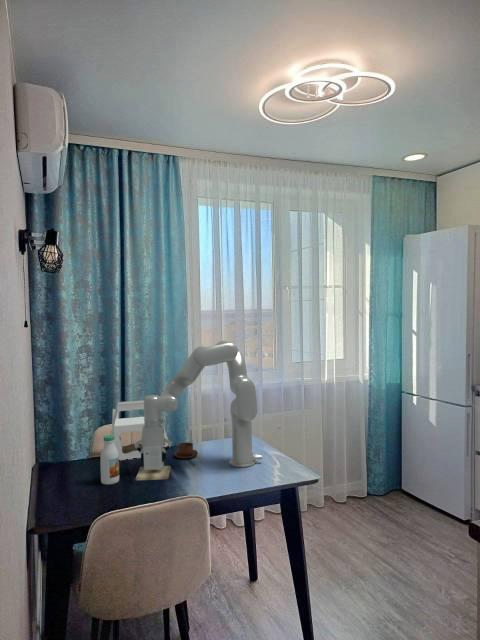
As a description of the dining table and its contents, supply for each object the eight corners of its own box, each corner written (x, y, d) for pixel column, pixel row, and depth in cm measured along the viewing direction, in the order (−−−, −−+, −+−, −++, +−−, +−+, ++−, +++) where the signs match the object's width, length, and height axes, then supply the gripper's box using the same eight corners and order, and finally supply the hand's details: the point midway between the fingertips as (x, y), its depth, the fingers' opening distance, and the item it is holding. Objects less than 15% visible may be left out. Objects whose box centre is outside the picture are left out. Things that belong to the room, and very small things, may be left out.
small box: (164, 465, 213) (163, 442, 213) (161, 469, 207) (160, 446, 207) (146, 465, 213) (146, 443, 213) (143, 470, 208) (143, 446, 207)
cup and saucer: (177, 452, 242) (177, 440, 242) (200, 453, 240) (199, 441, 240) (171, 460, 230) (170, 447, 230) (194, 460, 229) (194, 448, 228)
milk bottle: (102, 486, 197) (101, 439, 196) (99, 480, 203) (98, 435, 203) (121, 482, 200) (120, 436, 200) (117, 477, 207) (116, 432, 207)
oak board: (170, 468, 217) (170, 465, 217) (168, 479, 203) (167, 476, 203) (140, 469, 217) (140, 466, 216) (135, 480, 203) (135, 477, 203)
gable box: (114, 461, 230) (112, 405, 229) (112, 453, 242) (111, 400, 242) (159, 456, 237) (157, 401, 236) (155, 448, 249) (154, 397, 249)
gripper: (172, 420, 214) (173, 457, 214) (134, 421, 213) (135, 459, 213) (171, 424, 206) (172, 463, 207) (131, 425, 205) (132, 464, 206)
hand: (153, 461), depth 210 cm, fingers closed on small box, 8 cm apart
